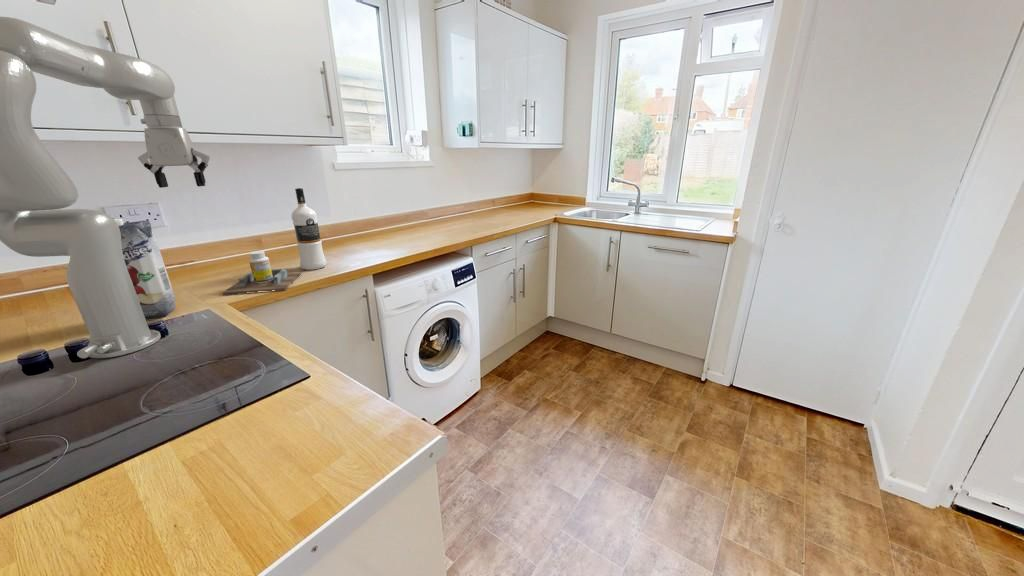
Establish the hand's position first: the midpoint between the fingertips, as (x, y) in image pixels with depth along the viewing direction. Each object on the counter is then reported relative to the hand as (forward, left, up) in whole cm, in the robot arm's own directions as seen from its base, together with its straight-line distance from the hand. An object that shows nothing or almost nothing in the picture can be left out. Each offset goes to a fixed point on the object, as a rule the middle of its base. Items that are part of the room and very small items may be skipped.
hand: (182, 186), depth 113 cm
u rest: (+6, -13, -33) cm, 36 cm away
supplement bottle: (+6, -13, -32) cm, 35 cm away
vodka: (+24, -24, -34) cm, 48 cm away
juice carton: (-16, +8, -34) cm, 38 cm away
